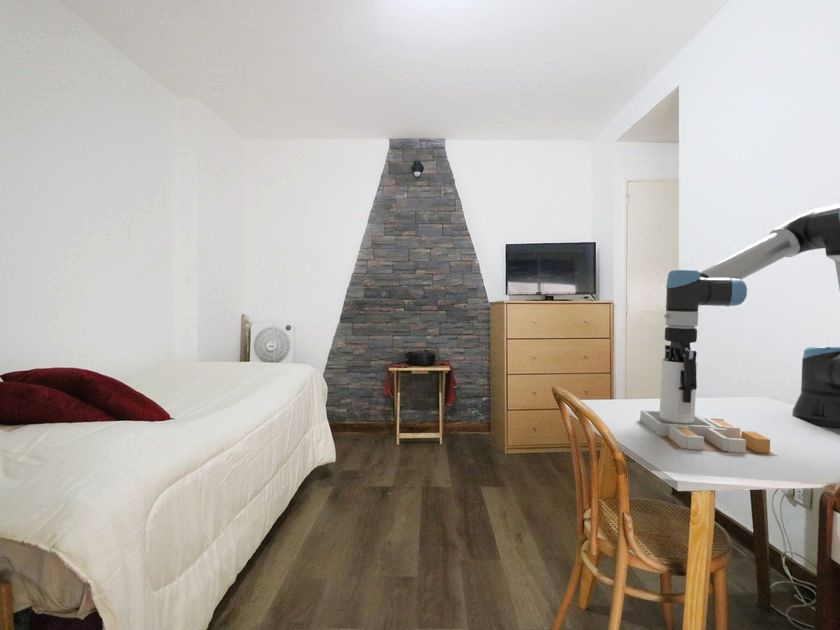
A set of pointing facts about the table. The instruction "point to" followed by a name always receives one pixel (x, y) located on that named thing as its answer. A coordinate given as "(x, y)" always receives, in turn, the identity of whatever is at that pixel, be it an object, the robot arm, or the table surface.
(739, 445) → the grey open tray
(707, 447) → the panel
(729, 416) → the table surface
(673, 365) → the cup
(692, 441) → the side clips
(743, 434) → the block
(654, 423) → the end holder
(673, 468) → the table surface
